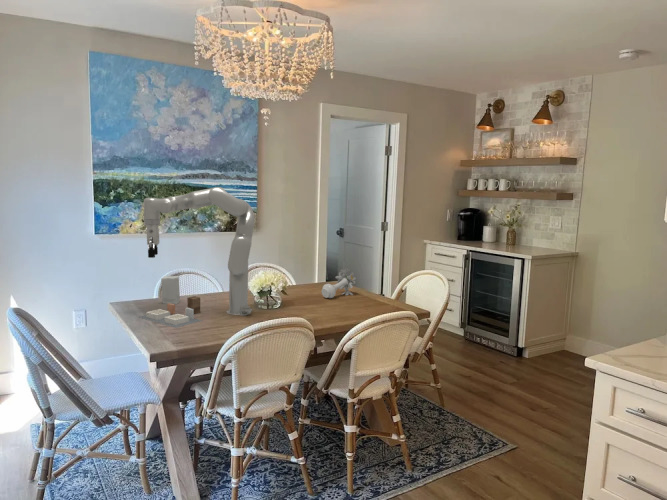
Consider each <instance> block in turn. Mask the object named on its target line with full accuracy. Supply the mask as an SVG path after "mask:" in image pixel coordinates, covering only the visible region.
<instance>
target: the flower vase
mask: <svg viewBox="0 0 667 500" xmlns="http://www.w3.org/2000/svg"><path fill="white" fill-rule="evenodd" d="M351 270H352V269H349V268H348V267H345V268H344V269H339V272H338V275H336V276H335V277H334V278H335V279H336V280H337V281H336V282H337V283H335V284H330V283H325V284H324V285H323V286H322V289H321V295H322V297H324V298H326V299H333V298H334V297H335V296H336V292H337V290H338V289H339V290H343V289H344V292H342V293H341V295H345V296H349V295H351V296H354V294H353V292H351V291H350V289H353V285H355V284H356V281H355V280H356V279H357V278H356V276H354V275H355V274H354V271H352V272H349V271H351ZM348 272H349V273H350V274H349V273H348Z"/></svg>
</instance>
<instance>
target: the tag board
mask: <svg viewBox="0 0 667 500" xmlns="http://www.w3.org/2000/svg"><path fill="white" fill-rule="evenodd" d="M138 318H140V319H143V320H147V321H150V322H152V323H153V322H154V323H156V324H161V325H165V326H168V327H171V328H174V329H177V328H180V327H185V326H187V325H192V324H195V323H199V322H202V321H203V320H202V319H199V318H194V319H192V320H191V319H189V317H188V316H186V314H185V315H184V314H179V313H176V312H175V314H174V315H172V314H170V312H169V311H167V310H164V309H161V308H158V309H154V310H149V311H146V313H145V315H144V314H143V315H139V316H138Z"/></svg>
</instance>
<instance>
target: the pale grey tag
mask: <svg viewBox="0 0 667 500" xmlns="http://www.w3.org/2000/svg"><path fill="white" fill-rule="evenodd" d="M194 315H195V314H194V309H191V308H188V307H185V316H188V317H189V319H191V320H192V319H194V317H195V316H194Z"/></svg>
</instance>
